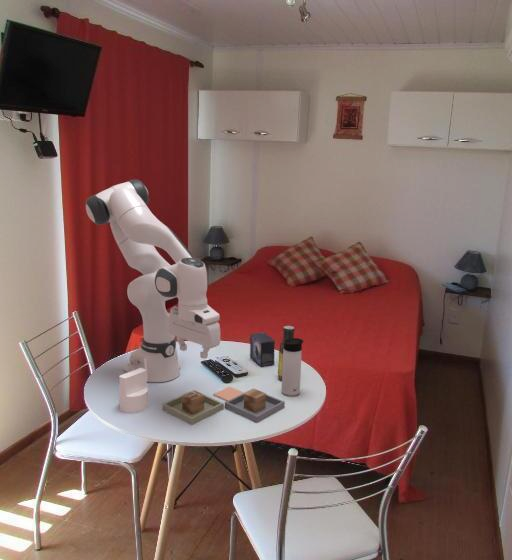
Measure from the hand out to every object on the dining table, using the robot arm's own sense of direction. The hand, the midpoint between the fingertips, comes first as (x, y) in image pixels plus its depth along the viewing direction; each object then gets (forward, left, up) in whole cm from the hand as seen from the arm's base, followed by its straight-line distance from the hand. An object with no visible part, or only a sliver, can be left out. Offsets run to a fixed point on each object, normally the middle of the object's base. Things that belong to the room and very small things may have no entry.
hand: (193, 353), depth 163 cm
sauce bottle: (+6, +40, -20) cm, 45 cm away
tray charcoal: (+13, +14, -20) cm, 28 cm away
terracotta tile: (+1, +15, -20) cm, 25 cm away
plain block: (+13, +14, -19) cm, 27 cm away
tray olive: (0, 0, -20) cm, 20 cm away
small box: (-11, +46, -20) cm, 52 cm away
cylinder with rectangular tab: (-16, -12, -20) cm, 28 cm away
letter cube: (0, 0, -19) cm, 19 cm away
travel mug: (+15, +31, -20) cm, 40 cm away
